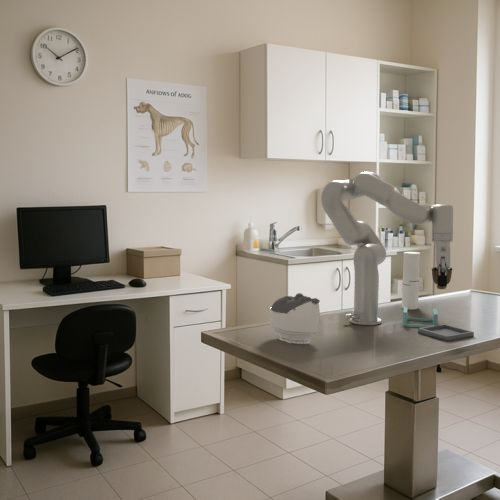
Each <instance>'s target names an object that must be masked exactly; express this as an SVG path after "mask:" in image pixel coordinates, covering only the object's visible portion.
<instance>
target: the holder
mask: <svg viewBox="0 0 500 500" xmlns="http://www.w3.org/2000/svg"><path fill="white" fill-rule="evenodd" d="M408 310H409V309H408V307H404V308H403V311H402V313H403V314H402V327H407V328H423V327H429V326H435V325H438V317H439V314H438V308H432V318H419V317H408ZM408 321H415V322H429V323H430V322H431V323H432V325H429V324H428V325H427V324H417V323H416V324H415V323H414V324H413V323H408Z"/></svg>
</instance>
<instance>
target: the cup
mask: <svg viewBox="0 0 500 500" xmlns="http://www.w3.org/2000/svg"><path fill="white" fill-rule="evenodd" d="M446 272H447V286H448V285H449V284H450V282H451V279H452V275H453V274H452V273H453V268H452V267H450V268H448V267H447V266H446ZM438 275H439V269H437V267H436V266H434V267H431V276H432V277H431V278H432V280H433V283H434V284H435V286H436V289H438V290H446V289H447V286H438Z"/></svg>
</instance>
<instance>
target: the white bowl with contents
mask: <svg viewBox="0 0 500 500" xmlns="http://www.w3.org/2000/svg"><path fill="white" fill-rule="evenodd" d="M269 326H271V327H272V329H273V330H274V331H275V332H276V333H278V335H279V338H278V339H279V340H280V341H282V342H286V343H289V344H295V345H296V344H297V345H300V344H301V345H308V344H310V343H311V341H310V338H313V337H314V336H315V335H316V334H317V333H318V332H320V331H321V312H320V299H319V298H317V297H315V298H312V297H310V296H306V295H303V293H301V292H299V293H296V294H295V296H291V295H285V296H283V297H280V298H278V299H276V300H275V301H274V302H273V303H272V304H271V306H270V308H269Z"/></svg>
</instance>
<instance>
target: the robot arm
mask: <svg viewBox="0 0 500 500" xmlns="http://www.w3.org/2000/svg"><path fill="white" fill-rule="evenodd" d="M361 197H367V198H369V199H371V200H373V201H374V202H376V203H378V204H380V205H381V206H383V207H385V208H386V209H387V210H389V211H390V212H391V213H393V214H394V215H396V216H397V217H399V218H401V219H403V220H405V221H407V222H408V223H410V224H413V225H418V226H419V225H422V224H423V225H424V224H429V223H431V242H433V243H434V262H435V267H436V268H437V269H439V275H438V286H448V284H447V272H446V267H448V269H450V268H451V242H452V243H453V241H454V239H453V237H454V234H453V233H454V206H453V205H451V204H446V203H444V204H443V203H442V204H440V203H439V204H430V203H417V202H415V201H413V200H411V199H410V198H408V197H406V196H405V195H403V194H402V193H401V192H400V191H399V189H398V187H397V186H395V185H392V184H391V183H389V182H387V181H385V180H384V179H381V177H380V176H379V175H378V174H377V173H375V172H372V171H364V172H363V171H362V172H359V173H358V174H357V175H356V176H355V177H353V178H349V179H345V180H342V179H340V180H339V179H337V180H336V179H335V180H331V181H329V182H328V183H327V184H326V185H325V186H324V188H323V190H322V192H321V198H320V200H321V206H322V208H323V211H324V212H325V214H326V215H327V216H328V219H329V220H330V221H331V223H332V224H333V226H334V227H335V229H336V231H337V232H338V235H339V236H340V237H341V238H342V240H343V241H344V242H345V244H347V245H349V246H356V247H357V248H356V249H355V251H354V254H353V268H354V289H353V290H354V291H353V292H354V293H353V295H354V296H353V300H354V301H353V310H351V312H350V313H345V314H344V319H345V320H349V322H350V323H352V324H353V325H354V324H355V325H360V326H361V325H362V326H375V325H376V326H377V325H380V324H381V323H382V318H379V317H378V315H379V290H380V288H379V286H380V285H379V283H380V282H379V281H380V280H379V278H380V277H379V276H380V275H379V269H378V267H379V266H380V265H381V264H382V263H383V262H385V260H386V258H387V250H386V248H385V246H384V244H383V243H382V241H381V239H379V237H378V236H377V234H376V232H375V231H374V229H373V228H372V227H371V226H370V225H369V224H368V223H367V222H365V221H362V220H357V219H356V218H355V216H354V215H353V214H352V212H351V211H350V209H349V208H348V207H347V206H346V205H345V204H344V202H346V201H351V200H354V199H357V198H361Z"/></svg>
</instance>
